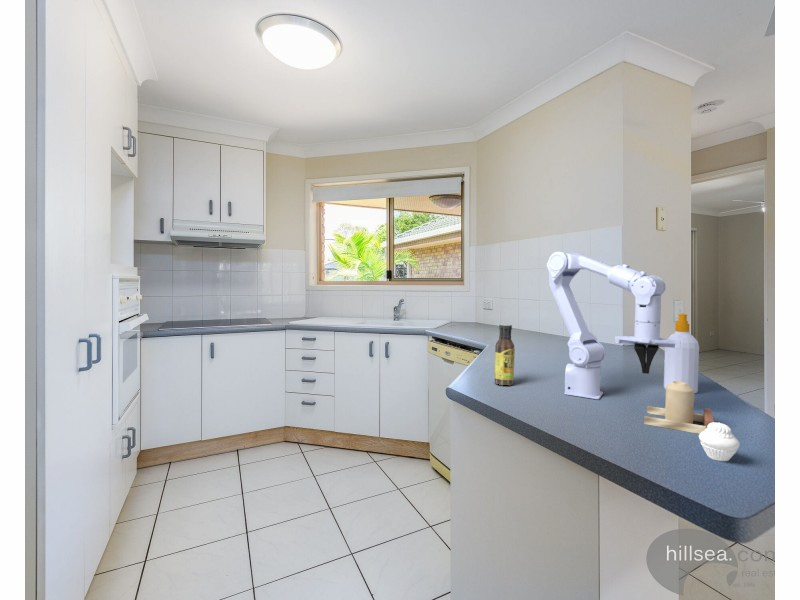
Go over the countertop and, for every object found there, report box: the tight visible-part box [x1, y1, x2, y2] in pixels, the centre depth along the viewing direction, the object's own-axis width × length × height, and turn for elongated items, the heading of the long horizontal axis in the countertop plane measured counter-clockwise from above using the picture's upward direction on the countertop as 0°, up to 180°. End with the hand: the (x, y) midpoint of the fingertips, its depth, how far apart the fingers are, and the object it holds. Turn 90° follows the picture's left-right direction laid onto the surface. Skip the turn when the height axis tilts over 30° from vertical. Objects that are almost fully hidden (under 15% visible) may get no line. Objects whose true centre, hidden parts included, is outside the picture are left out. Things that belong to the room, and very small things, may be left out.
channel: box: [643, 405, 715, 435], centre depth 94 cm, size 13×11×3 cm
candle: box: [664, 381, 695, 424], centre depth 94 cm, size 6×6×10 cm
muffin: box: [698, 421, 740, 462], centre depth 76 cm, size 6×6×7 cm
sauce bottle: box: [493, 323, 515, 386], centre depth 130 cm, size 6×6×20 cm
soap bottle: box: [663, 312, 700, 394], centre depth 122 cm, size 9×9×24 cm
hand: (645, 372), depth 104 cm, fingers closed
